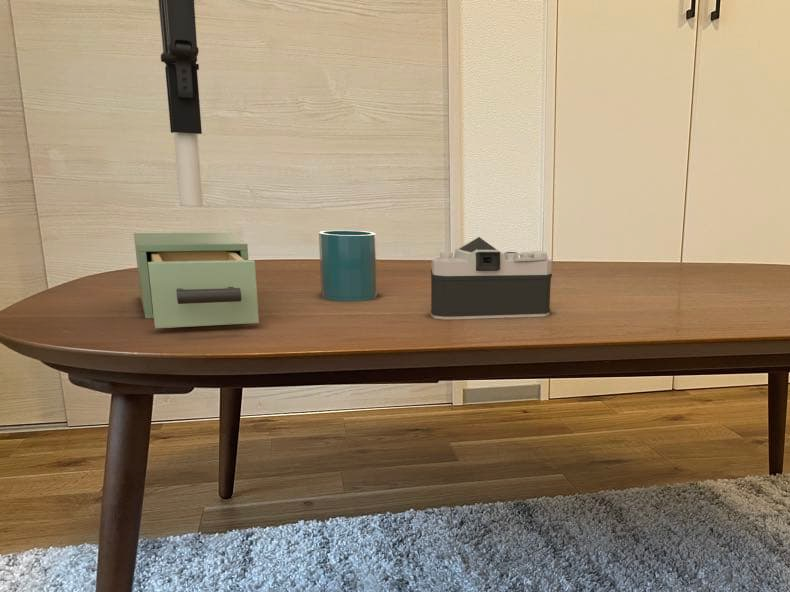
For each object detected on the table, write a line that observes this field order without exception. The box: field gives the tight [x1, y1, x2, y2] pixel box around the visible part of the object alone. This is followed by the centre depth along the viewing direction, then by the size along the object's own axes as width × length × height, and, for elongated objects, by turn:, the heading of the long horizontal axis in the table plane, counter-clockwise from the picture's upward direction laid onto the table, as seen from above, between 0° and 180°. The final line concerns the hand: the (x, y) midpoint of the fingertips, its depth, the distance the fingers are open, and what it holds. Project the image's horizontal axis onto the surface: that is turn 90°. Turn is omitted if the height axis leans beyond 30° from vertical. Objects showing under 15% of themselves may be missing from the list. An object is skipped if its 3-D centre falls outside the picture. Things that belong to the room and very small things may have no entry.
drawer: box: [148, 251, 260, 329], centre depth 86 cm, size 17×10×7 cm, turn 28°
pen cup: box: [318, 230, 378, 302], centre depth 107 cm, size 7×7×9 cm
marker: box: [168, 80, 205, 208], centre depth 83 cm, size 3×3×14 cm
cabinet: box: [133, 232, 249, 319], centre depth 96 cm, size 14×12×9 cm
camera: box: [430, 236, 553, 320], centre depth 100 cm, size 16×9×10 cm, turn 111°
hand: (186, 132), depth 82 cm, fingers closed on marker, 3 cm apart
